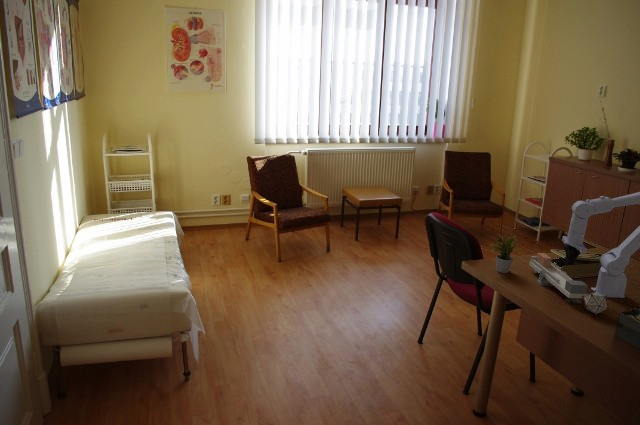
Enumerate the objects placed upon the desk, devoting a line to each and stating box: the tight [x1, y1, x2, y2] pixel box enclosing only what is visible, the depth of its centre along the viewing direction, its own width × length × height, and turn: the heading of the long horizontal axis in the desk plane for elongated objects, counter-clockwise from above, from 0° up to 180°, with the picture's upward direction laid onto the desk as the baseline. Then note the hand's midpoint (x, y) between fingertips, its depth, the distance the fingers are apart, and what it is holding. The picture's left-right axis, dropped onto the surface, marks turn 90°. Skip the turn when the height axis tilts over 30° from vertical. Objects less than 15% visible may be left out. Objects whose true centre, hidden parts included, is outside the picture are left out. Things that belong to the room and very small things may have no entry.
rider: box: [536, 252, 552, 269], centre depth 209 cm, size 6×3×5 cm, turn 3°
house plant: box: [488, 233, 521, 274], centre depth 213 cm, size 14×14×16 cm
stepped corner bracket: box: [533, 268, 583, 306], centre depth 199 cm, size 31×11×5 cm, turn 2°
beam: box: [528, 255, 589, 299], centre depth 199 cm, size 33×8×5 cm, turn 2°
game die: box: [582, 290, 611, 317], centre depth 178 cm, size 9×8×10 cm
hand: (569, 264), depth 196 cm, fingers closed
